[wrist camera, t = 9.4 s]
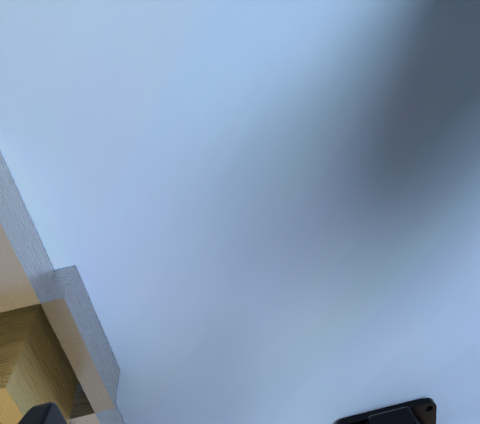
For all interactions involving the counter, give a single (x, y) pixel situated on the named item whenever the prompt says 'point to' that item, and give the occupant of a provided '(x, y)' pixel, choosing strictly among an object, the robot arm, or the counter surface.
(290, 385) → the counter surface
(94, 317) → the chrome-studded grey beam
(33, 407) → the robot arm
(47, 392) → the studded golden block
